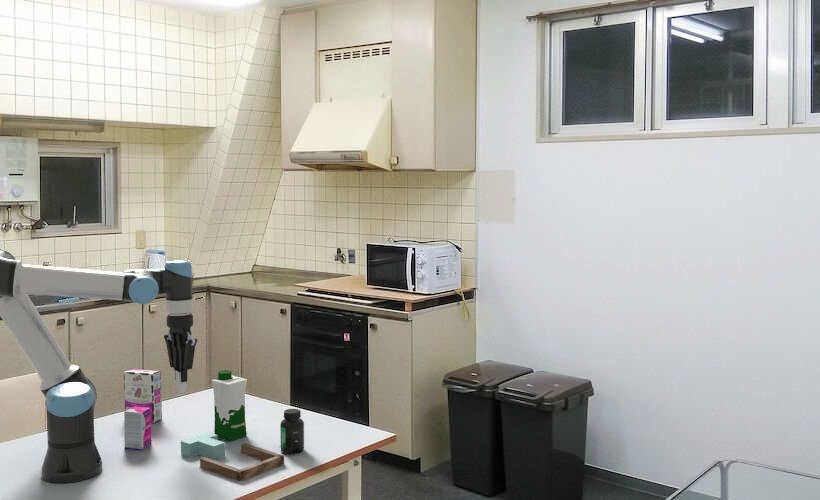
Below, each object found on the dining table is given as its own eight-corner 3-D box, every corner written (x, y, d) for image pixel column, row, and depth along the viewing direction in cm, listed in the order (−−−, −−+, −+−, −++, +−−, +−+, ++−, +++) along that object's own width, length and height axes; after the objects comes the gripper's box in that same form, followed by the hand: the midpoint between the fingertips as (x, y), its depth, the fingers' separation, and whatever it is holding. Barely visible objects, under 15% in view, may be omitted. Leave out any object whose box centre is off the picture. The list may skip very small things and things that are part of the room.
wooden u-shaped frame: (239, 481, 212) (239, 472, 212) (200, 467, 222) (199, 458, 222) (284, 464, 224) (284, 455, 224) (244, 451, 234) (244, 443, 234)
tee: (205, 463, 225) (205, 449, 225) (181, 454, 232) (180, 441, 231) (233, 453, 233) (233, 439, 233) (209, 445, 240) (208, 432, 239)
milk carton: (231, 430, 254) (230, 367, 252) (251, 435, 248) (250, 372, 246) (209, 437, 247) (208, 373, 245) (229, 443, 241) (228, 378, 239)
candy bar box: (162, 419, 264) (161, 370, 262) (153, 424, 259) (152, 374, 257) (133, 416, 267) (132, 367, 265) (124, 420, 262) (122, 371, 261)
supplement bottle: (282, 456, 231) (281, 415, 230) (279, 448, 238) (279, 408, 236) (305, 453, 233) (305, 413, 232) (302, 446, 239) (302, 406, 238)
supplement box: (142, 451, 234) (141, 412, 233) (123, 449, 235) (122, 411, 234) (152, 444, 240) (151, 406, 239) (134, 442, 241) (133, 405, 240)
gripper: (204, 314, 234) (206, 393, 237) (176, 309, 242) (178, 385, 245) (182, 317, 228) (184, 398, 231) (155, 312, 236) (157, 391, 239)
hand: (181, 391), depth 238 cm, fingers closed
